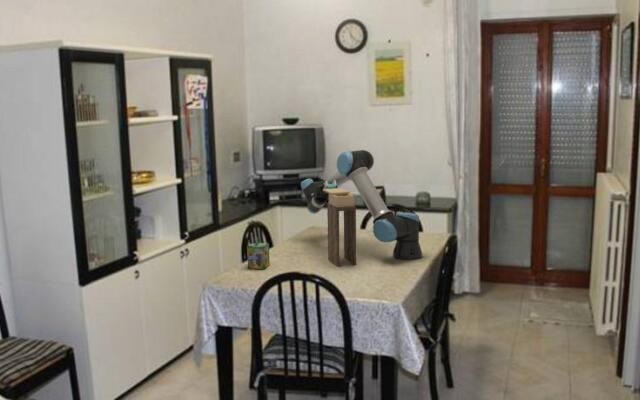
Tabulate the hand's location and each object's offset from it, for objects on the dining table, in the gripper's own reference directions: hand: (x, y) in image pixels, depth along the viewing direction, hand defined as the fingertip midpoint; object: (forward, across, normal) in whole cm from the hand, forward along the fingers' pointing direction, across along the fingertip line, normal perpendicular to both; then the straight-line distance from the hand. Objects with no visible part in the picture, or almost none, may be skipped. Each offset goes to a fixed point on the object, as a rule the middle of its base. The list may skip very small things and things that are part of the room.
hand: (331, 182), depth 331 cm
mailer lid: (+1, 0, -5) cm, 5 cm away
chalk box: (-11, +42, -39) cm, 58 cm away
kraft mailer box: (+10, 0, -16) cm, 19 cm away
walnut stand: (-5, 0, -42) cm, 42 cm away
